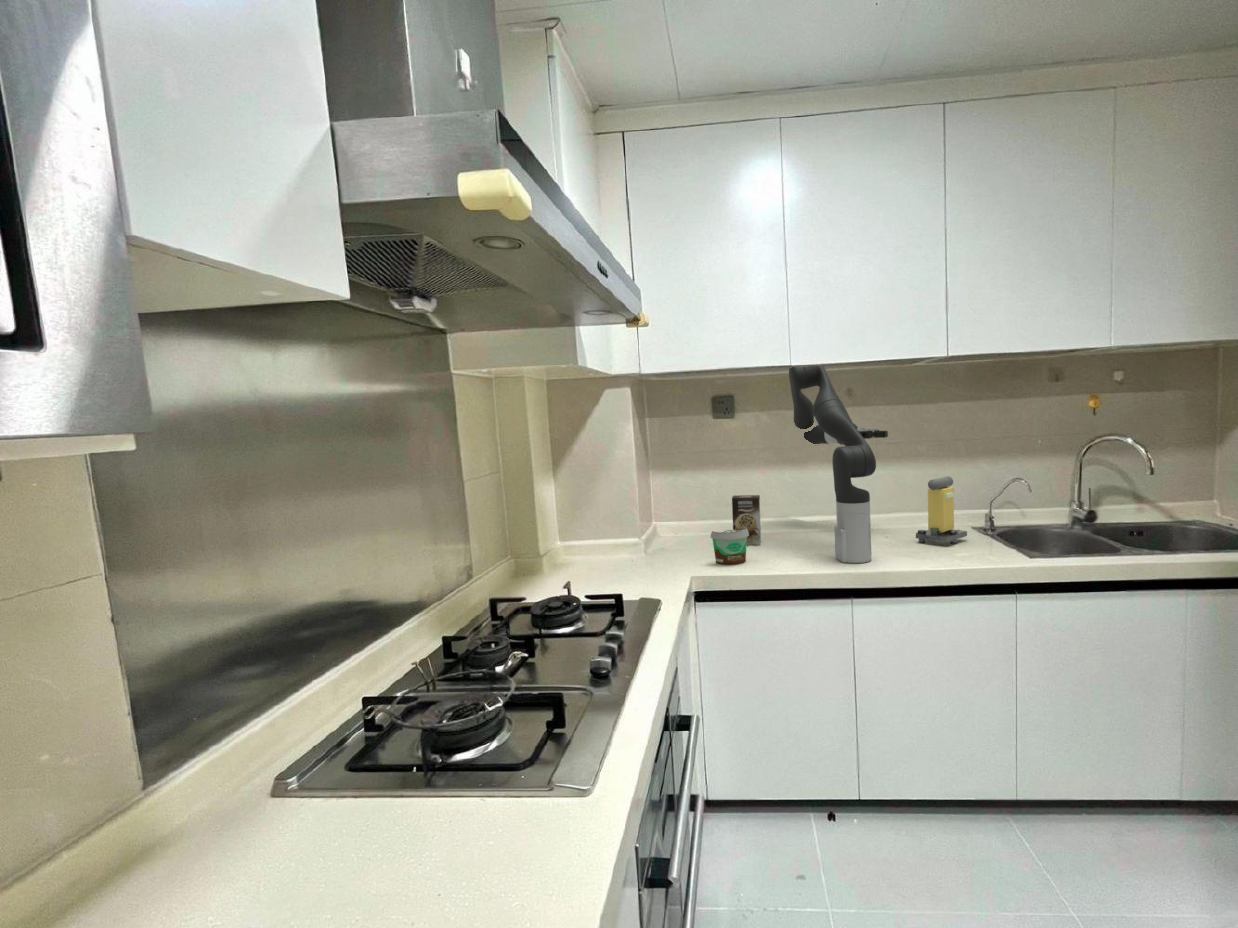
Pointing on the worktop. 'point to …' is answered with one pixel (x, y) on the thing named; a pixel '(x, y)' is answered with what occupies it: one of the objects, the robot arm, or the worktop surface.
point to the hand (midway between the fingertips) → (886, 434)
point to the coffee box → (747, 516)
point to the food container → (730, 546)
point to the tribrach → (940, 535)
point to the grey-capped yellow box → (941, 504)
